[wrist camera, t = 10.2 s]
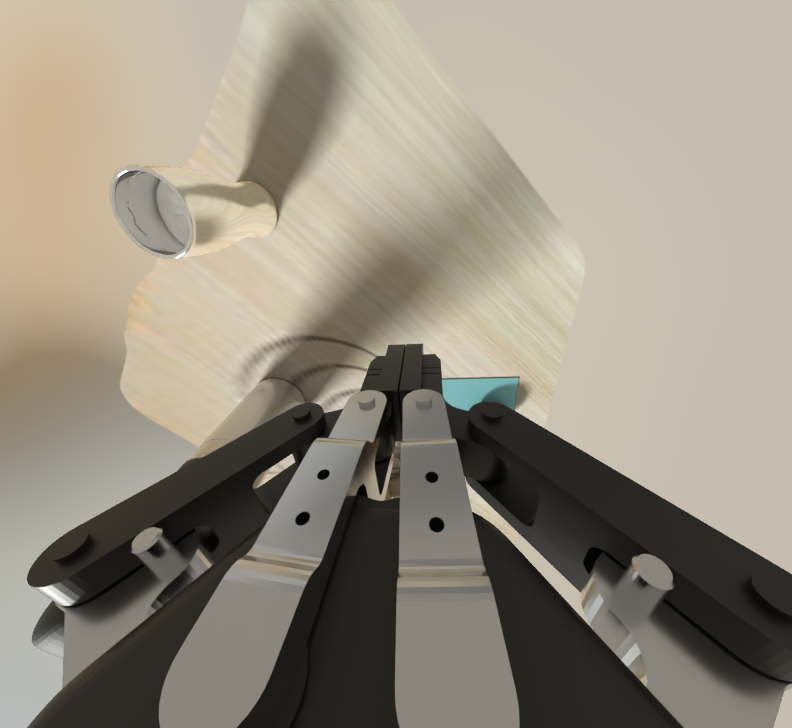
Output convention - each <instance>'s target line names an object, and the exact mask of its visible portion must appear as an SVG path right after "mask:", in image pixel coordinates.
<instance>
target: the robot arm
mask: <svg viewBox="0 0 792 728" xmlns="http://www.w3.org/2000/svg"><path fill="white" fill-rule="evenodd" d="M395 441H401V450H400V497H399V498H394V499H389V500H385V497H386V492H387V488H388V483H389V479H390V475H391V470H392V466H393V461H394V448H395ZM290 454H293V456H294V459H295V463H294V464H292V465H291V466H289V467H288V468H287V469H285V470H284V471H282V472H281V473H279V474H278V475H276V476H275V477H273V478H272V479H271V480H269V481H268V482H266V483H265V484H263V485H262V486H260V485H261V483H262V482H263V480H264V478H265V476H266V475H267V473H268V471H269V470H270V468H271V467H272V466H274V465H275V464H277V463H278V462H280V461H281V460H283V459H284V458H286V457H287V456H289V455H290ZM464 476H465V477H466V480H467V482H468V484H469V485H470V486H471V487H472V488H473V489H474V490H475V491H476V492H477V493H478V494H479V495H480V496H481V497H482V498H483V499H484V500H485V501H486V502H487V503H488V504H489V505H490V506H491V507H492V508H493V509H494V510H495V511H496V512H497V513H499V514H500V515H501V516H502V517H503V518H504V519H505V520H506V521H507V522H508V523H509V524H510V525H511V526H512V527H513V528H514V529H515V530H516V531H517V532H518V533H519V534H520V535H521V536H522V537H524V538H525V539H526V540H527V541H528V542H529V543H530V544H531V545H532V546H533V547H534V548H535V549H536V550H537V551H538V552H539V553H540V554H541V555H542V556H543V557H544V558H545V559H546V560H547V561H548V562H549V563H550V564H551V565H553V566H554V567H555V568H556V569H557V570H558V571H559V572H560V573H561V574H562V575H563V576H564V577H565V578H566V579H567V580H568V581H569V582H570V583H571V584H572V585H573V586H574V587H575V588H577V589H578V590H579V591H580V592H581V602H582V607H583V611H584V613H585V615H586V618H587V620H588V622H589V624H590V625H591V627H592V628H593V629H592V628H591V627H590V626H589V625H588V624H587V623H586V622H585V621H584V620H583V619H582V617H581V616H579V614H578V613H577V612H576V611H575V610H574V609H573V608H572V607H571V606H570V605H569V604H568V602H566V600H565V599H564V598H563V597H562V596H561V595H560V594H559V593H558V592H557V591H556V590H555V589H554V587H553V586H551V584H550V583H549V582H548V581H547V580H546V579H545V578H544V577H543V576H542V575H541V573H539V571H537V569H536V568H535V567H534V566H533V565H532V564H531V563H530V562H529V561H528V559H527V558H525V556H524V555H523V554H522V553H521V552H520V551H519V550H518V549H517V548H516V547H515V546H514V544H513V543H512V542H511V541H510V540H509V539H508V538H507V537H506V536H505V535H504V534H503V533H502V532H501V531H500V530H499V529H497V528H496V527H495V526H494V525H493V524H491V523H490V522H489V521H487V520H486V519H484V518H483V517H481V516H479V515H477V514H475V513H473V512H472V509H471V505H470V500H469V496H468V491H467V487H466V482H465V478H464ZM27 581H28V584H29V585H30V586H32V587H33V588H35V589H36V590H38V591H39V592H41V593H42V594H44V595H45V596H47V597H48V598H50V599H51V600H53V601H52V602H51V603H50V605H49V606H48V607H47V608H46V610H45V611H44V613H43V614H42V616H41V617H40V619H39V621H38V623H37V625H36V627H35V628H34V631H33V635H32V643H33V644H34V646H35V647H37V648H39V649H40V650H42V651H45V652H47V653H49V654H52V655H55V656H58V657H61V658H63V688H62V690H61V691H60V692H59V693H58V694H57V695H56V696H55V697H54V698H53V699H52V700H51V701H50V702H49V703H48V704H47V705H46V707H44V709H43V710H42V711H41V712H40V713H39V714H38V715H37V716H36V718H35V719H34V720H33V721H32V722H31V724H30V725H29V726H28V727H27V728H773V726H774V723H775V720H776V716H777V713H778V710H779V707H780V703H781V700H782V696H783V693H784V691H786V690H788V689H790V688H792V574H790V573H789V572H787V571H785V570H784V569H782V568H780V567H779V566H777V565H775V564H773V563H772V562H770V561H768V560H767V559H765V558H763V557H762V556H760V555H758V554H756V553H755V552H753V551H751V550H750V549H748V548H746V547H745V546H743V545H741V544H739V543H738V542H736V541H734V540H733V539H731V538H729V537H728V536H726V535H724V534H723V533H721V532H719V531H717V530H716V529H714V528H712V527H711V526H709V525H707V524H706V523H704V522H702V521H701V520H699V519H697V518H695V517H694V516H692V515H690V514H689V513H687V512H685V511H684V510H682V509H680V508H678V507H677V506H675V505H673V504H672V503H670V502H668V501H667V500H665V499H663V498H661V497H660V496H658V495H656V494H655V493H653V492H651V491H650V490H648V489H646V488H644V487H643V486H641V485H639V484H638V483H636V482H634V481H633V480H631V479H629V478H627V477H626V476H624V475H622V474H621V473H619V472H617V471H616V470H614V469H612V468H611V467H609V466H607V465H605V464H604V463H602V462H600V461H599V460H597V459H595V458H594V457H592V456H590V455H589V454H587V453H585V452H583V451H582V450H580V449H578V448H576V447H575V446H573V445H572V444H570V443H568V442H566V441H565V440H563V439H561V438H560V437H558V436H556V435H554V434H553V433H551V432H549V431H548V430H546V429H544V428H543V427H541V426H539V425H538V424H536V423H534V422H533V421H531V420H529V419H527V418H526V417H524V416H522V415H521V414H519V413H517V412H516V411H514V410H512V409H510V408H509V407H507V406H505V405H503V404H500V403H497V402H480V403H477V404H475V405H473V406H472V407H471V408H470V409H469V411H467V410H462V409H459V408H456V407H453V406H451V405H450V404H448V403H447V402H446V401H445V399H444V397H443V388H442V375H441V361H440V359H439V358H438V357H437V356H436V355H435V354H429V355H423V344H406V345H389V346H388V349H387V353H386V356H377V357H376V358H375V359H374V360H373V361H371V363H370V365H369V368H368V371H367V374H366V377H365V379H364V382H363V385H362V388H361V391H360V392H358V393H356V394H354V395H353V396H351V397H350V398H349V400H348V401H347V403H346V405H345V407H344V408H343V409H341V410H337V411H332V412H328V413H324V411H323V408H322V407H321V406H320V405H318V404H315V403H305V399H304V397H303V395H302V393H301V392H300V391H299V390H298V389H297V388H296V387H295V386H294V385H292V384H291V383H289V382H287V381H284V380H281V379H276V378H271V379H265V380H263V381H261V382H260V383H259V384H258V385H257V386H256V387H255V388H254V389H253V390H252V391H251V392H250V393H249V394H248V395H247V396H246V397H245V398H244V400H243V401H242V402H241V403H240V404H239V405H238V406H237V407H236V408H235V409H234V410H233V411H232V412H231V414H230V415H229V416H228V417H227V418H226V419H225V420H224V421H223V422H222V423H221V424H220V425H219V426H218V427H217V429H216V430H215V431H214V432H213V433H212V434H211V435H210V436H209V437H208V438H207V439H206V440H205V441H204V443H203V444H202V445H201V446H200V447H199V448H198V449H197V450H196V451H195V452H194V453H193V455H192V456H191V457H190V458H189V459H188V460H187V461H186V462H185V463H184V464H183V465H182V466H181V467H180V469H179V470H178V471H177V472H175V473H173V474H172V475H170V476H168V477H166V478H164V479H163V480H161V481H159V482H157V483H155V484H154V485H152V486H150V487H148V488H146V489H145V490H143V491H141V492H139V493H137V494H136V495H134V496H132V497H130V498H128V499H126V500H125V501H123V502H121V503H119V504H117V505H116V506H114V507H112V508H110V509H108V510H107V511H105V512H103V513H101V514H99V515H98V516H96V517H94V518H92V519H90V520H89V521H87V522H85V523H83V524H81V525H80V526H78V527H76V528H74V529H73V530H71V531H69V532H67V533H66V534H65V535H63V536H62V537H60V538H59V539H58V540H56V541H55V542H54V543H53V544H51V545H50V546H49V547H48V548H47V549H46V550H45V551H44V552H43V553H42V554H41V555H40V556H39V557H38V558H37V560H36V561H35V562H34V564H33V565H32V567H31V568H30V570H29V573H28V576H27Z"/></svg>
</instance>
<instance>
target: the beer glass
mask: <svg viewBox="0 0 792 728" xmlns="http://www.w3.org/2000/svg"><path fill="white" fill-rule="evenodd" d="M109 195H110V196H109V197H110V203H111V207H112V210H113V213H114V215H115V217H116V219H117V221H118V223H119V225H120V226H121V228H122V229H123V230H124V232H125V233H126V234H127V236H128V237H129V238H130V239H131V240H132V241H133V242H134V243H135V244H136V245H138V246H139V247H140V248H141V249H143V250H145V251H146V252H148V253H150V254H152V255H154V256H156V257H159V258H163V259H176V258H181V257H191V256H199V255H204V254H209V253H213V252H216V251H220V250H222V249H224V248H227V247H229V246H231V245H232V244H234V243H236V242H237V241H239V240H241V239H242V238H244V237H246V236H252V237H263V236H266V235H268V234H270V233H271V232H272V231H273V229H274V228H275V226H276V222H277V209H276V206H275V203H274V201H273V199H272V197H271V196H270V194H269V193H268V192H267V191H266V190H265V189H264V188H263V187H262V186H260V185H259V184H257V183H254V182H251V181H241V182H237V183H234V184H232V183H228V182H226V181H223V180H221V179H218V178H216V177H213V176H211V175H208V174H205V173H202V172H199V171H196V170H191V169H186V168H180V167H169V166H139V165H129V166H125V167H122V168H120V169H119V170H118V171H117V172H116V173H115V174H114V175H113V177H112V179H111V183H110V187H109Z"/></svg>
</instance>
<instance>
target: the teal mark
mask: <svg viewBox="0 0 792 728" xmlns="http://www.w3.org/2000/svg"><path fill="white" fill-rule="evenodd" d="M518 380H519V378H518V377H512V378H469V379H442V388H443V397H444V399H445V401H446V402H447V403H448V404H450V405H451V406H453V407H456V408H459V409H462V410H467V411H469V409H470V408H471V407H472V406H473V405H475V404H477V403H480V402H485V401H488V400H495V401H498V402H501V403H502V404H504V405H505V406H507V407H509V408H510V409H512V410H514V407H515V401H516V394H517V387H518Z"/></svg>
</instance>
